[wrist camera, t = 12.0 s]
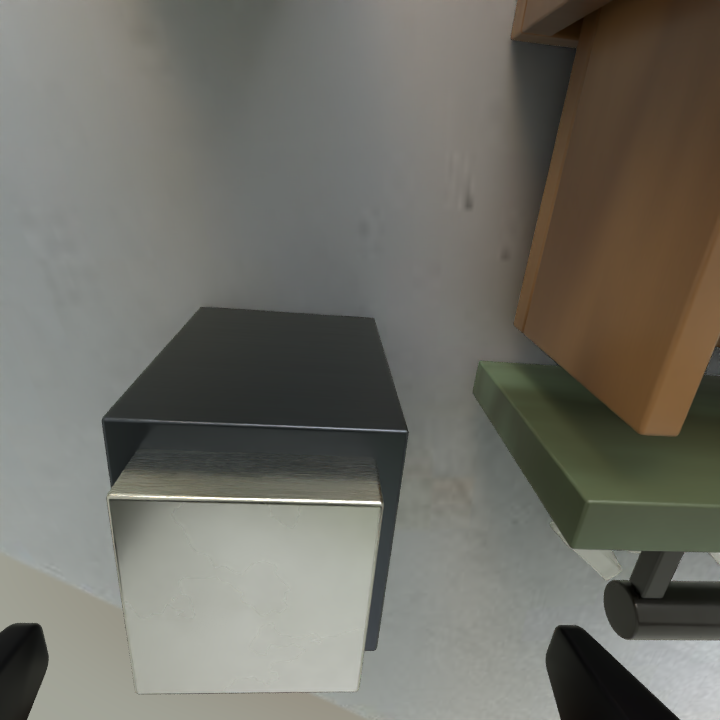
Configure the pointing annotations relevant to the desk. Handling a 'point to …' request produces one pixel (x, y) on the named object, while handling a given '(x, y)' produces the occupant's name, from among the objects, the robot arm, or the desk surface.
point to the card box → (256, 503)
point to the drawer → (628, 314)
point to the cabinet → (552, 21)
